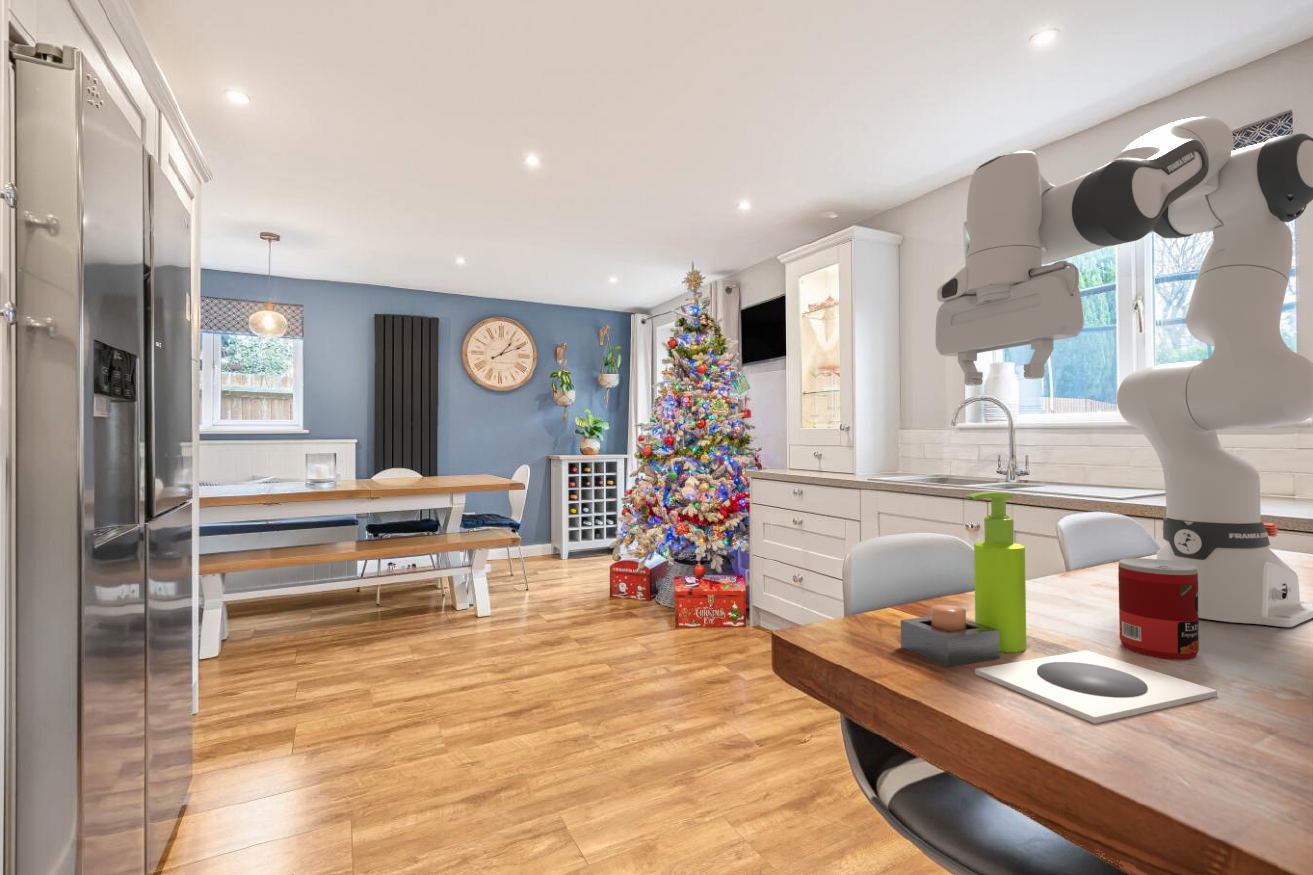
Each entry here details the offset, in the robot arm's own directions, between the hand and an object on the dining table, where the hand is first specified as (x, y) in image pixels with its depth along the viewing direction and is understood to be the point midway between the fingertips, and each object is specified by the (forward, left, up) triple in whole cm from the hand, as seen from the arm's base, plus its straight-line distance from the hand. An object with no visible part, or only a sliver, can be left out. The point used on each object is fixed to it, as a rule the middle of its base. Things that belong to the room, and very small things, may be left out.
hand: (1002, 382), depth 85 cm
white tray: (+4, +14, -35) cm, 37 cm away
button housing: (+10, 0, -35) cm, 36 cm away
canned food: (-15, +9, -35) cm, 39 cm away
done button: (+10, 0, -32) cm, 33 cm away
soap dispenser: (+2, 0, -35) cm, 35 cm away
